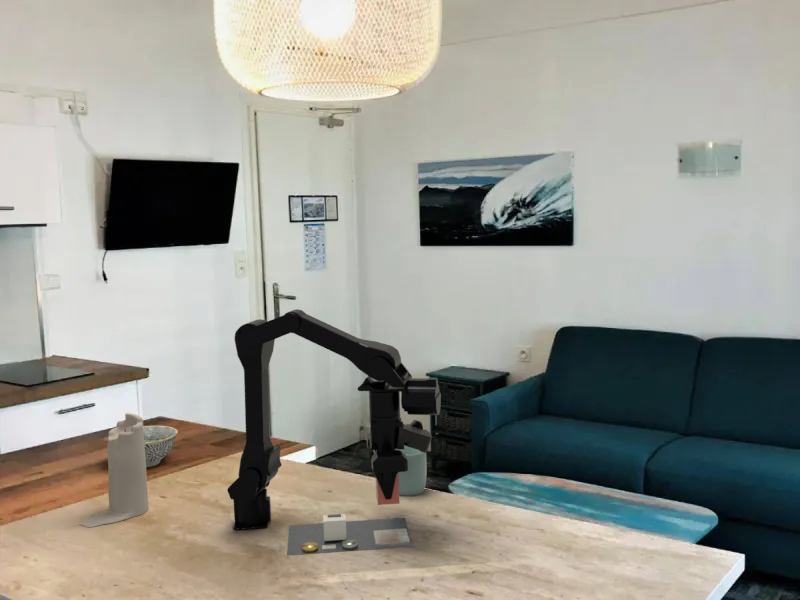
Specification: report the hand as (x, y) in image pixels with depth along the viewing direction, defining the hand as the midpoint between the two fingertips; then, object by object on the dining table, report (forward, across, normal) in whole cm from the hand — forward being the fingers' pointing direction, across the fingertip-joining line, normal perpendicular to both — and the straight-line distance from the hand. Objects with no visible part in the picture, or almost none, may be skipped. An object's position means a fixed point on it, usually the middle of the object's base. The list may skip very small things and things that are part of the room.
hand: (387, 495), depth 156 cm
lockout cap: (+1, 0, 0) cm, 1 cm away
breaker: (+5, -5, +10) cm, 13 cm away
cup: (+7, +18, -6) cm, 20 cm away
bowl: (+7, +53, +55) cm, 77 cm away
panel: (+7, -4, +8) cm, 11 cm away
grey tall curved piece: (+7, +17, +54) cm, 57 cm away
